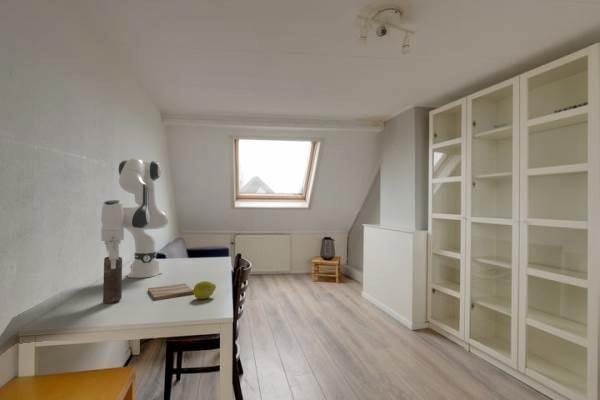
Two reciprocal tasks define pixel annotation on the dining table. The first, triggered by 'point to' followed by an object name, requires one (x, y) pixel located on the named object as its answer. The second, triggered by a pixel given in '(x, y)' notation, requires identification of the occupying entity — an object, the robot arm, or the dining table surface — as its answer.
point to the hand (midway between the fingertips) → (112, 266)
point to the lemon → (203, 289)
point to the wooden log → (112, 281)
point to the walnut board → (170, 291)
